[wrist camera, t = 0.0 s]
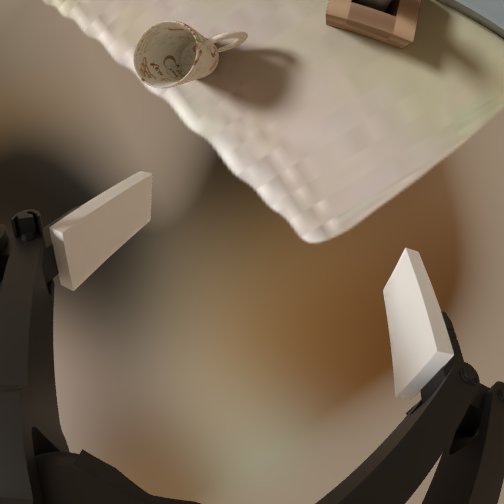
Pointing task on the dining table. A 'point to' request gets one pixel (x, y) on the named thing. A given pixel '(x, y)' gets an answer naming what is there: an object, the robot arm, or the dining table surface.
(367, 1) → the steel pin
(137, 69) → the mug
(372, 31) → the wooden hollow square frame
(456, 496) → the robot arm
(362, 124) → the dining table surface
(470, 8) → the slate tray
